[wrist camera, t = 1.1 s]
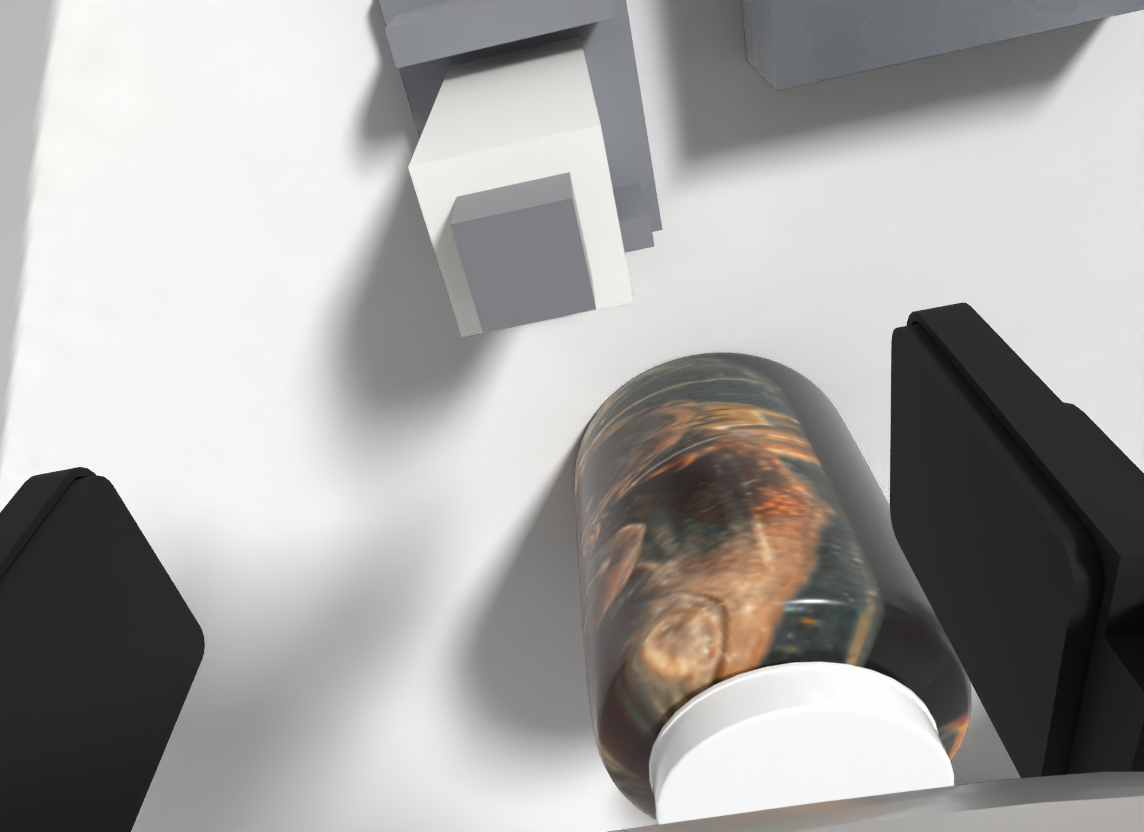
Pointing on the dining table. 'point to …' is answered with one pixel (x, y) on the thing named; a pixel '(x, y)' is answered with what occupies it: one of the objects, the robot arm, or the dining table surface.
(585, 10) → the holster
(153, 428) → the dining table surface
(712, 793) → the jar
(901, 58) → the port block
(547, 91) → the plug
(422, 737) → the dining table surface
